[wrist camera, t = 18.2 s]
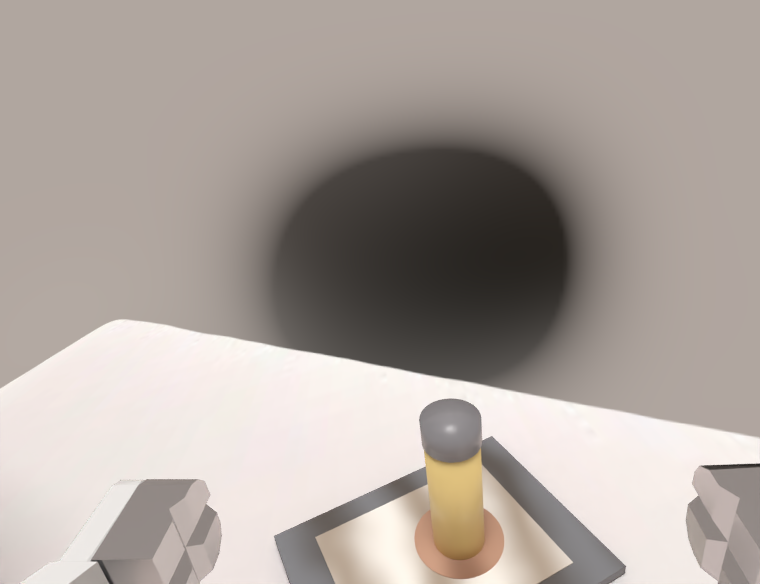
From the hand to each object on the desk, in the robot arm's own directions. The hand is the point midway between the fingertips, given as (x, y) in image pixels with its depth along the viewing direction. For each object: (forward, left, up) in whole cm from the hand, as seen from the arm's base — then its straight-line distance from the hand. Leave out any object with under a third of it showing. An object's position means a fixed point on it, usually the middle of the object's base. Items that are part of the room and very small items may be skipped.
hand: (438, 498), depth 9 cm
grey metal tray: (+9, +19, -30) cm, 37 cm away
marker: (+11, +19, -29) cm, 36 cm away
